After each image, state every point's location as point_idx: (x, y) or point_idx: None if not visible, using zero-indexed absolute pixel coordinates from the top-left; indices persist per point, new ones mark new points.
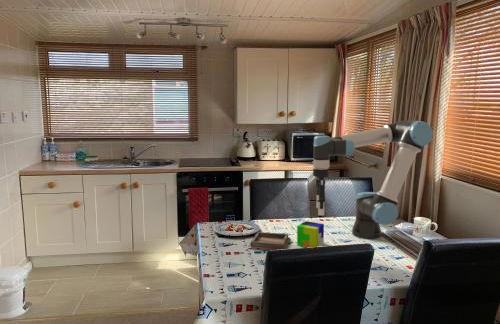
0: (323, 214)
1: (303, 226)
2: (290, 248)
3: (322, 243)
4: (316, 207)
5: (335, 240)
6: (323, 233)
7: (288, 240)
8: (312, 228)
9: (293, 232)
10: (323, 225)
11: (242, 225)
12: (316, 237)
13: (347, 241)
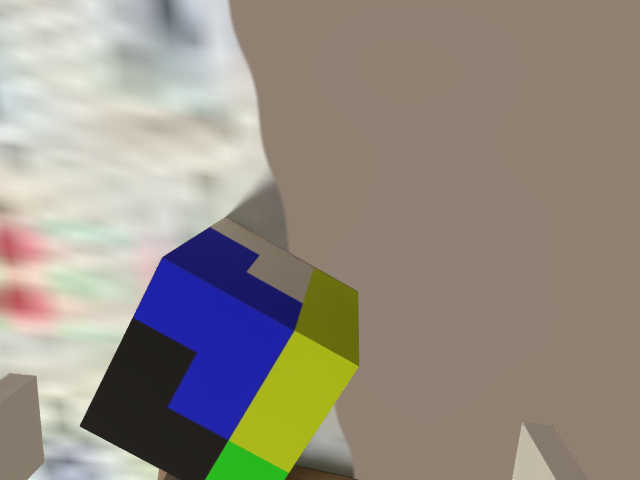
0: (559, 448)
1: (267, 469)
2: (349, 451)
3: (243, 228)
4: (35, 467)
5: (159, 111)
6: (203, 236)
7: None
8: (331, 396)
9: None
10: (178, 259)
11: None
12: (348, 321)
13: (173, 9)
